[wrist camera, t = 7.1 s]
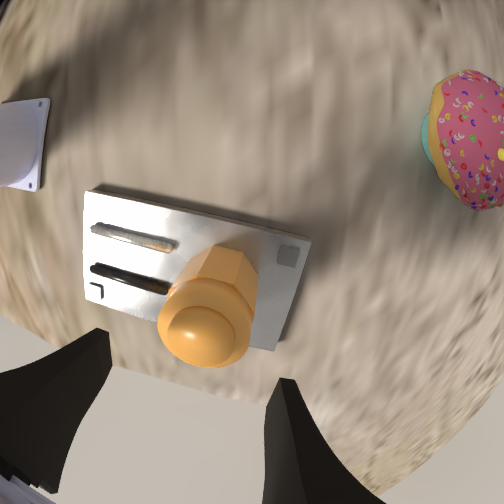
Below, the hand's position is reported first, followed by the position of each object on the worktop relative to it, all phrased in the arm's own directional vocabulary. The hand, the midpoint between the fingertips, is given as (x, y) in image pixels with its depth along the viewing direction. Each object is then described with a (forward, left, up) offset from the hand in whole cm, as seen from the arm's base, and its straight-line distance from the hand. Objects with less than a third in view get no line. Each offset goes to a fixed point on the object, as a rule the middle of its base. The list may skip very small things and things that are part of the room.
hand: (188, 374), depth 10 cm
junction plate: (-3, -1, -10) cm, 10 cm away
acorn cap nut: (0, 0, -9) cm, 9 cm away
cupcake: (+13, +14, -10) cm, 22 cm away
